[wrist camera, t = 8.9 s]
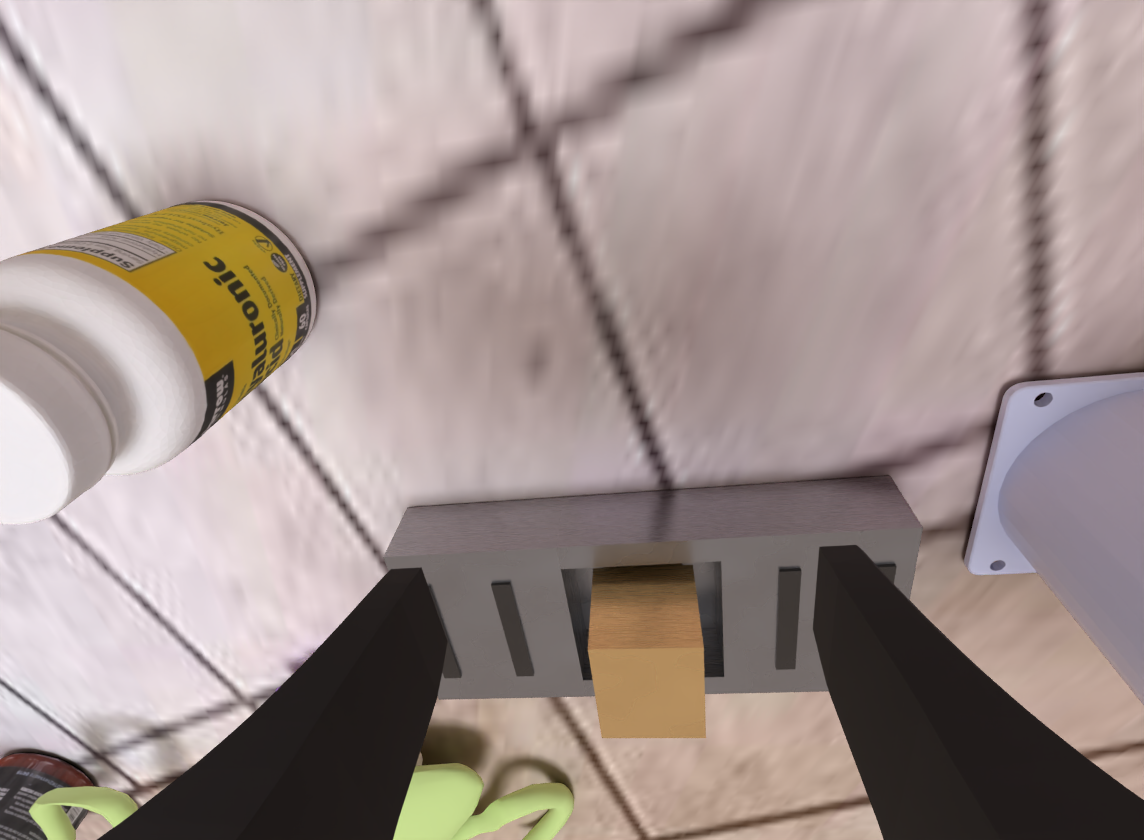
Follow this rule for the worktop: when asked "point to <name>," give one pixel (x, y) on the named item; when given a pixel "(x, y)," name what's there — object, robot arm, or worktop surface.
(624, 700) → the wooden stepped block
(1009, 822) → the robot arm
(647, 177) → the worktop surface
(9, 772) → the supplement bottle
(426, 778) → the figurine
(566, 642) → the grey slotted block
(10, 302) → the supplement bottle
